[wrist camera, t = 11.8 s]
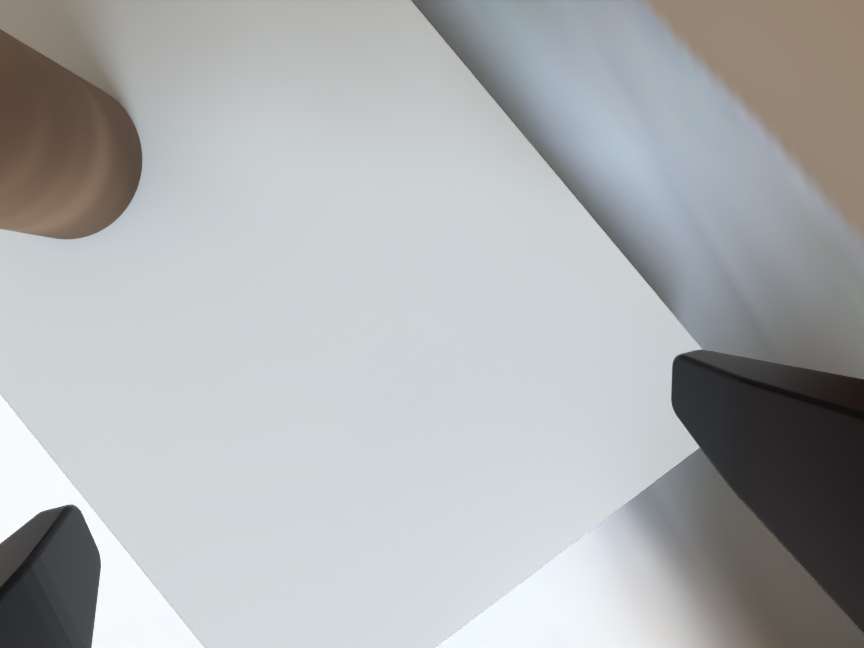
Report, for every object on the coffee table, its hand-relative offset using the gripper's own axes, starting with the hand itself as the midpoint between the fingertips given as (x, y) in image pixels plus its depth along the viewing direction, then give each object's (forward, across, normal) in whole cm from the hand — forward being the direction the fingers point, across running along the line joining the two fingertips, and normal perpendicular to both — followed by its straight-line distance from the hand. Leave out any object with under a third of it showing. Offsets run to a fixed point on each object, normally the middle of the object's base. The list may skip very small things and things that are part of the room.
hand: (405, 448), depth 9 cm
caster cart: (+13, +1, +1) cm, 13 cm away
